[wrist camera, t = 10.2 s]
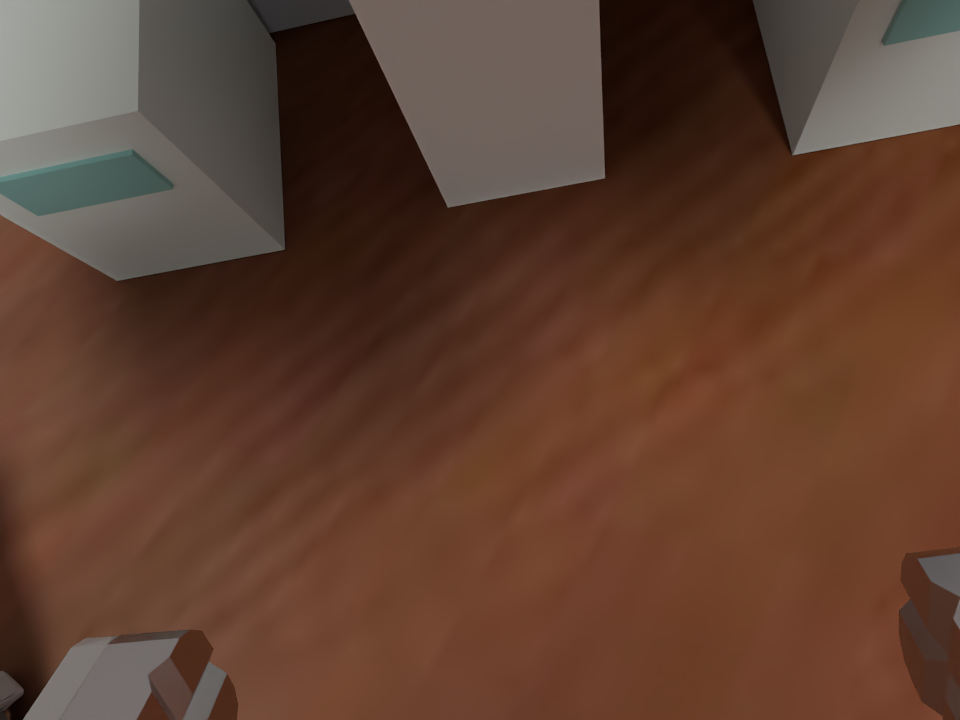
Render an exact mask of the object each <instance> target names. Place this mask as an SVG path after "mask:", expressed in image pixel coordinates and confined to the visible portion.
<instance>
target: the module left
mask: <svg viewBox="0 0 960 720" xmlns="http://www.w3.org/2000/svg"><path fill="white" fill-rule="evenodd" d="M0 215H1V216H3V217H5V218H7V219H8V220H10V221H12V222H14V223H15V224H17V225H19V226H21V227H22V228H24V229H26V230H28V231H30V232H31V233H33V234H35V235H37V236H38V237H40V238H42V239H44V240H46V241H47V242H49V243H51V244H53V245H54V246H56V247H58V248H60V249H61V250H63V251H65V252H67V253H69V254H70V255H72V256H74V257H76V258H77V259H79V260H81V261H83V262H85V263H86V264H88V265H90V266H92V267H93V268H95V269H97V270H99V271H100V272H102V273H104V274H106V275H108V276H109V277H111V278H113V279H115V280H116V281H119V280H125V279H130V278H135V277H141V276H146V275H152V274H157V273H162V272H168V271H173V270H179V269H184V268H189V267H195V266H200V265H205V264H211V263H216V262H222V261H227V260H232V259H238V258H243V257H248V256H254V255H259V254H265V253H270V252H275V251H281V250H285V235H284V214H283V193H282V171H281V150H280V129H279V107H278V86H277V65H276V44H275V42H274V41H273V39H272V38H271V36H270V35H269V33H268V32H267V30H266V28H265V27H264V25H263V24H262V22H261V21H260V19H259V18H258V16H257V15H256V13H255V12H254V10H253V9H252V7H251V6H250V4H249V3H248V1H247V0H0Z"/></svg>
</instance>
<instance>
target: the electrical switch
mask: <svg viewBox="0 0 960 720" xmlns="http://www.w3.org/2000/svg"><path fill="white" fill-rule="evenodd" d="M23 694H24V690H23V688H22V687H21V686H20V685H19V684H18V683H17V682H16V681H15V680H14V679H13V678H12V677H11V676H10V675H8V674H7V673H6V672H4V671H0V720H8V718H7V717H6V715H5V713H4V711H5V710H6V709H7V708H9V707H10V706H11V705H12V704H13V703H14V702H15V701H16V700H17V699H18V698H20V697H21V696H22V695H23Z"/></svg>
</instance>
